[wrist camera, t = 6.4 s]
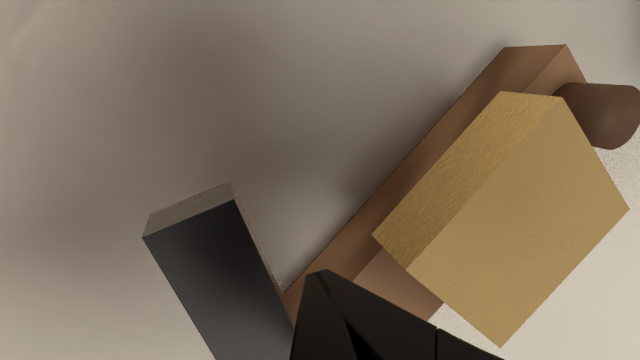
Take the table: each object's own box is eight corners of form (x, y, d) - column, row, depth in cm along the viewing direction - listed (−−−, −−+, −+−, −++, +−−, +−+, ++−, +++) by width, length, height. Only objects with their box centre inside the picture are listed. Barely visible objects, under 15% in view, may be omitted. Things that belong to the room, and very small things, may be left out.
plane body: (504, 47, 16) (684, 38, 10) (547, 113, 18) (721, 140, 12) (225, 359, 17) (236, 527, 11) (293, 392, 18) (336, 551, 12)
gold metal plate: (500, 91, 13) (562, 97, 11) (567, 187, 16) (629, 209, 13) (371, 234, 13) (405, 270, 11) (457, 306, 16) (500, 348, 13)
